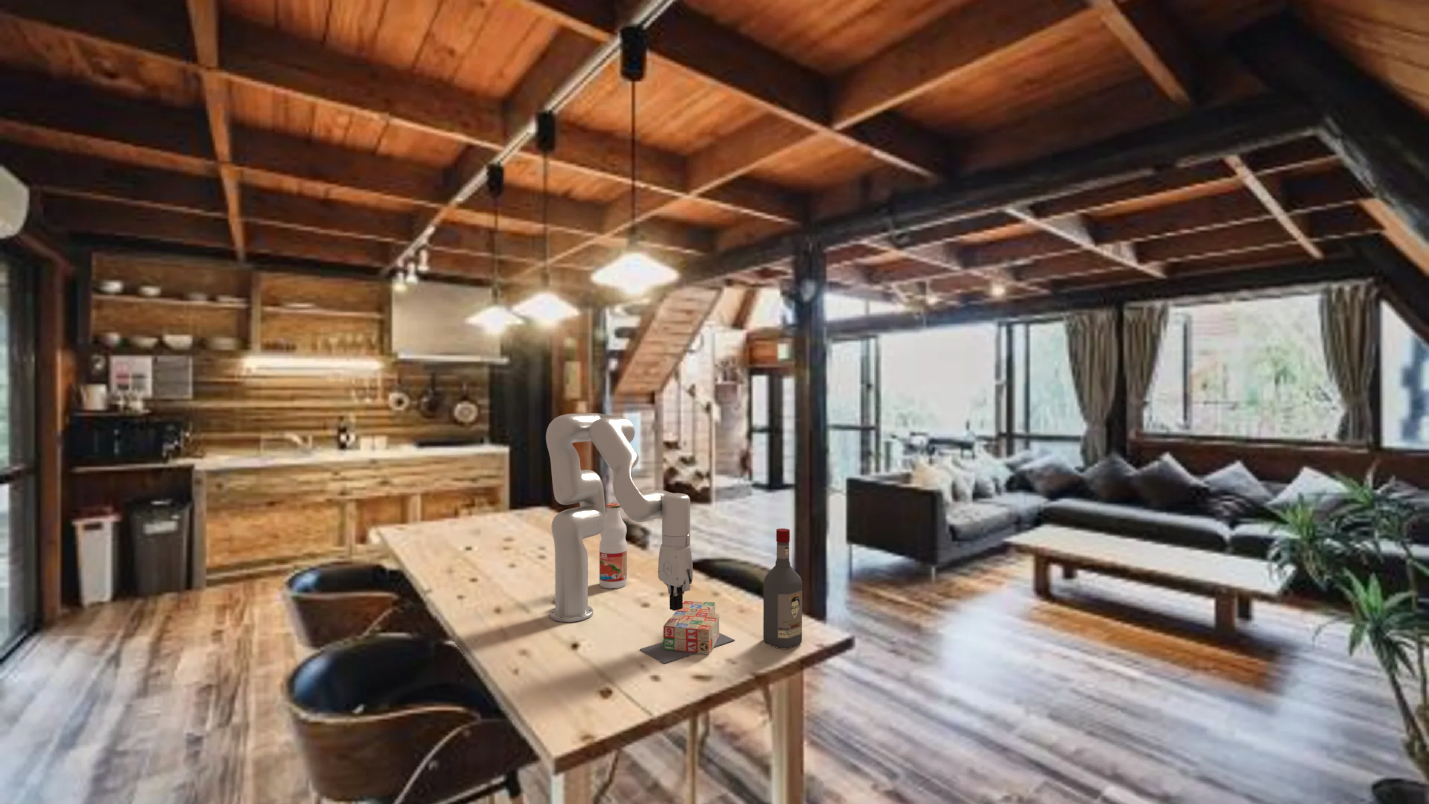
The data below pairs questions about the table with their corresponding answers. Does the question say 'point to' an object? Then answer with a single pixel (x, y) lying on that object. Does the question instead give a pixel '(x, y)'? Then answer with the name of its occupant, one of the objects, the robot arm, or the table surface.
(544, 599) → the table surface
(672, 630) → the stack of blocks
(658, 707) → the table surface
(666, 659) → the mat
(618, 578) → the fruit juice
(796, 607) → the liquor
